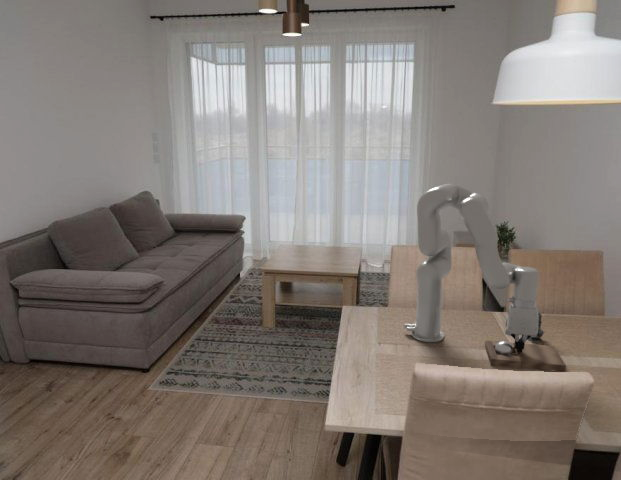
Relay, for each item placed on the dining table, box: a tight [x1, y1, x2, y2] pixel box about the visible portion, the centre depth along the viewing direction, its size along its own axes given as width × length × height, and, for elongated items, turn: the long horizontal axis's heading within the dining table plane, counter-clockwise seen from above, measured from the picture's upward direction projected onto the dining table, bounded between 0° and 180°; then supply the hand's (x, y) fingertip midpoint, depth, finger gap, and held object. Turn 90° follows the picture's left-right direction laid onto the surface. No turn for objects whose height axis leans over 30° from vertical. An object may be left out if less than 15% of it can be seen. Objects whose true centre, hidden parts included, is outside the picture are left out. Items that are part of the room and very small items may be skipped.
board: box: [484, 340, 567, 372], centre depth 175 cm, size 24×15×2 cm, turn 78°
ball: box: [495, 340, 514, 356], centre depth 176 cm, size 6×6×6 cm
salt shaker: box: [527, 310, 545, 343], centre depth 190 cm, size 6×6×12 cm
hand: (518, 350), depth 175 cm, fingers closed
